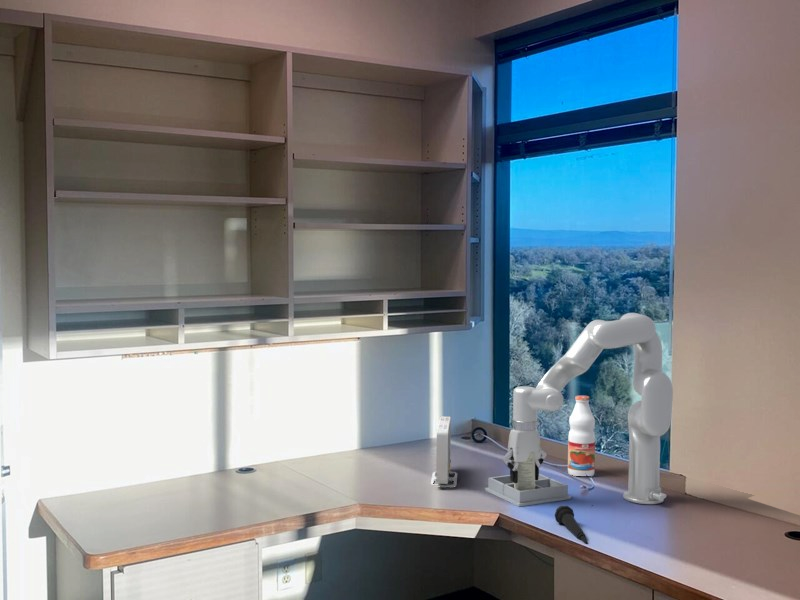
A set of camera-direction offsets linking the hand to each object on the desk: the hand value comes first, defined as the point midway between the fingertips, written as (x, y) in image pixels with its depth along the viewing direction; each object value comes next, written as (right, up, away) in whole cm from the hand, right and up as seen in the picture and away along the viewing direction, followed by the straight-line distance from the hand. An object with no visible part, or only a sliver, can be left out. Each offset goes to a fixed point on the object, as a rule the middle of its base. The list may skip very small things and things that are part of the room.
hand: (524, 480), depth 266 cm
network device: (-24, -5, +23) cm, 34 cm away
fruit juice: (+25, -5, +32) cm, 41 cm away
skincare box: (0, -3, 0) cm, 3 cm away
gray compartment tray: (+2, -6, +6) cm, 9 cm away
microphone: (+9, -8, -30) cm, 32 cm away
